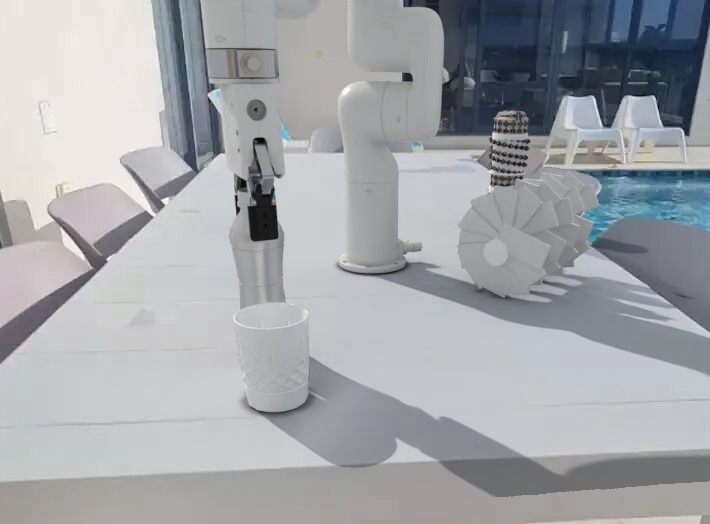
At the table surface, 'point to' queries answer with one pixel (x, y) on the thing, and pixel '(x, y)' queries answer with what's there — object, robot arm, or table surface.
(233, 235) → the plastic bottle
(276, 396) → the white cup
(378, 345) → the table surface
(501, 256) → the spiral staircase
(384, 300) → the table surface
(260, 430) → the table surface
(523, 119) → the decorative candle
